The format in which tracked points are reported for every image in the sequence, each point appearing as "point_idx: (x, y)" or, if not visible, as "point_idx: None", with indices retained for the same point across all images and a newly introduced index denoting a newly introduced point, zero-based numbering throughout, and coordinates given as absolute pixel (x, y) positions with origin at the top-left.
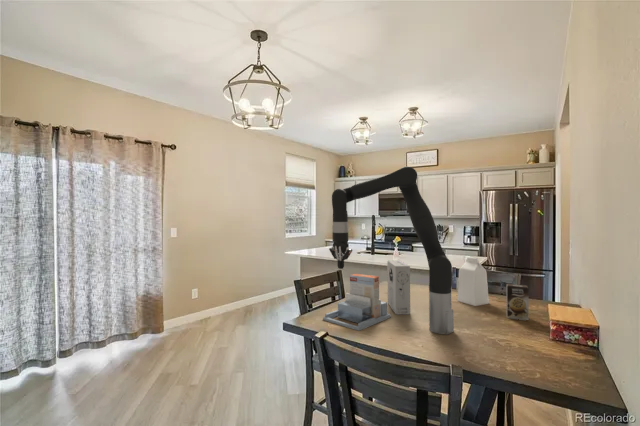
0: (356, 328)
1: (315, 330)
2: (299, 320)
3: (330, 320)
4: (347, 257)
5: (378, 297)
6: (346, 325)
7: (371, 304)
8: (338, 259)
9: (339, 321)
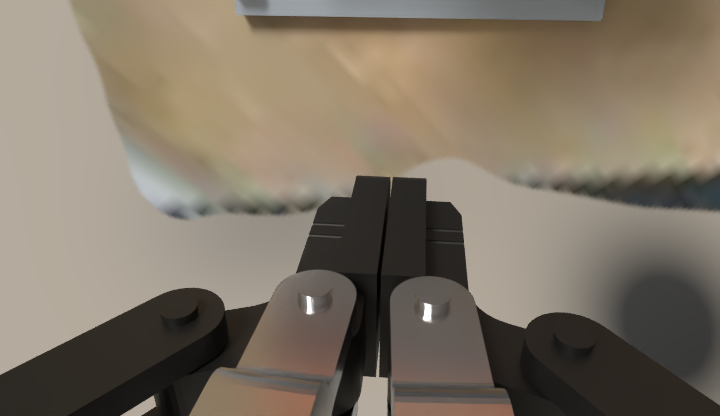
0: (578, 19)
1: None
2: (152, 131)
3: (317, 15)
4: (647, 395)
5: None
6: (480, 18)
7: None
8: (354, 409)
9: (397, 2)
